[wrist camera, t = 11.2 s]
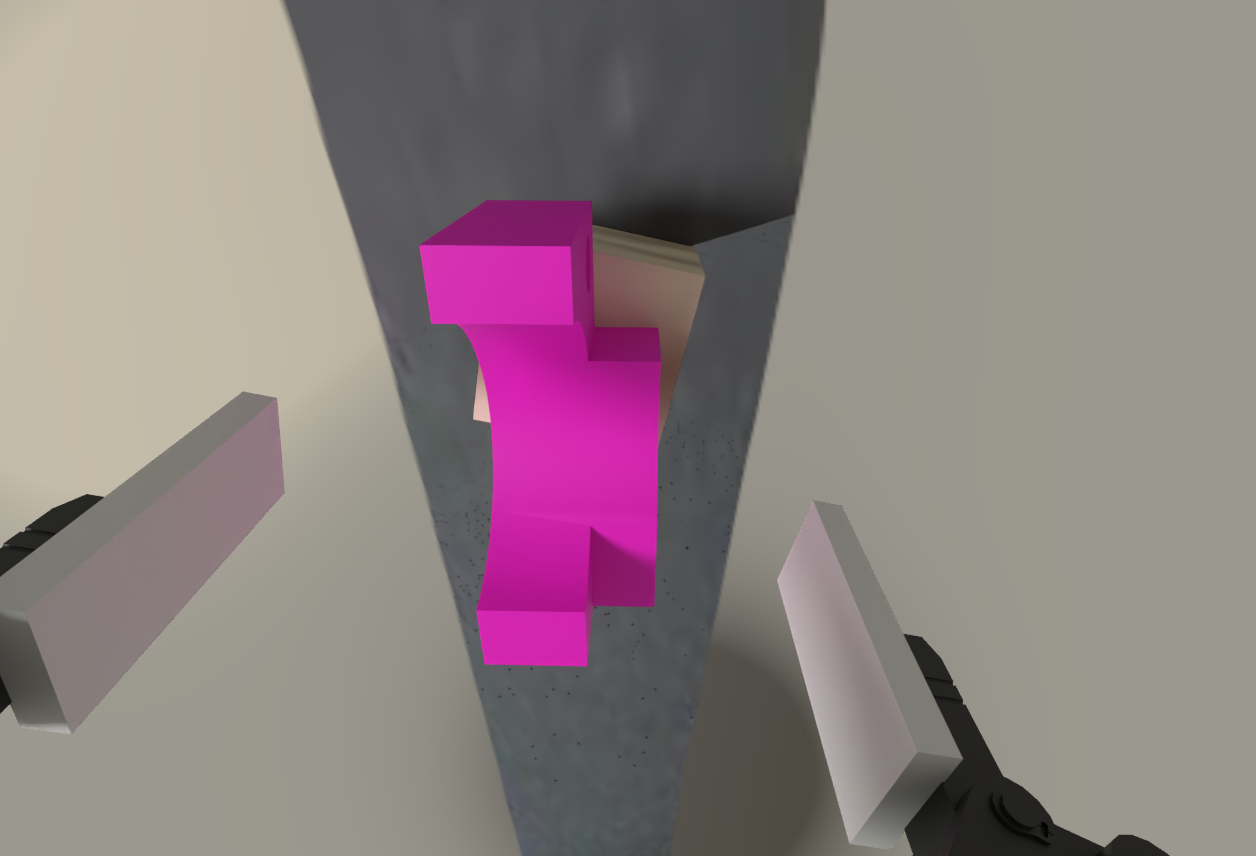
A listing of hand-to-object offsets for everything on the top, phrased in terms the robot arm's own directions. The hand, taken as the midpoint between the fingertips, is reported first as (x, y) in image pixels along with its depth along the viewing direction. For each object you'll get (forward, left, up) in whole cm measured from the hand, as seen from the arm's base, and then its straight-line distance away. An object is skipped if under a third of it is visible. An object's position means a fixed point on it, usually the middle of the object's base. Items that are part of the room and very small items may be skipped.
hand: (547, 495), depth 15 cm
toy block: (+2, 0, -11) cm, 11 cm away
